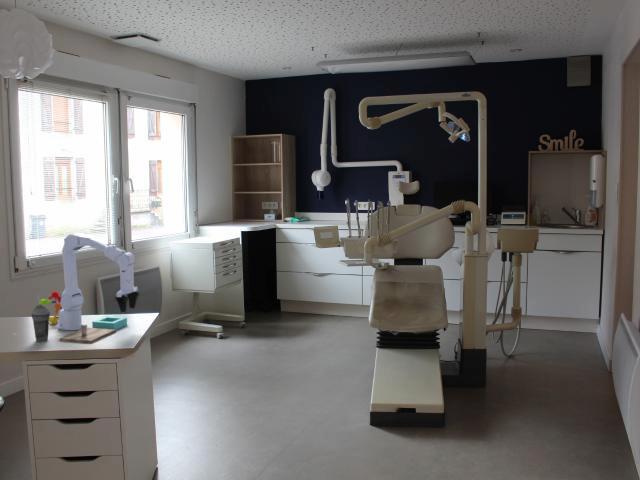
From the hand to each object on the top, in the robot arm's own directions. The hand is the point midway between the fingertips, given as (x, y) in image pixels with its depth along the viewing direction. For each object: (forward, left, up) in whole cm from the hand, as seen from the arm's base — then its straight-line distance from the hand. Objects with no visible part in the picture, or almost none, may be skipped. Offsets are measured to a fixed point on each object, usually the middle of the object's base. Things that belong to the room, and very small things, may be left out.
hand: (127, 309), depth 284 cm
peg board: (-13, -11, -10) cm, 20 cm away
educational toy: (-44, +10, -10) cm, 46 cm away
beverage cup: (-28, -22, -10) cm, 37 cm away
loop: (-13, +6, -10) cm, 17 cm away
